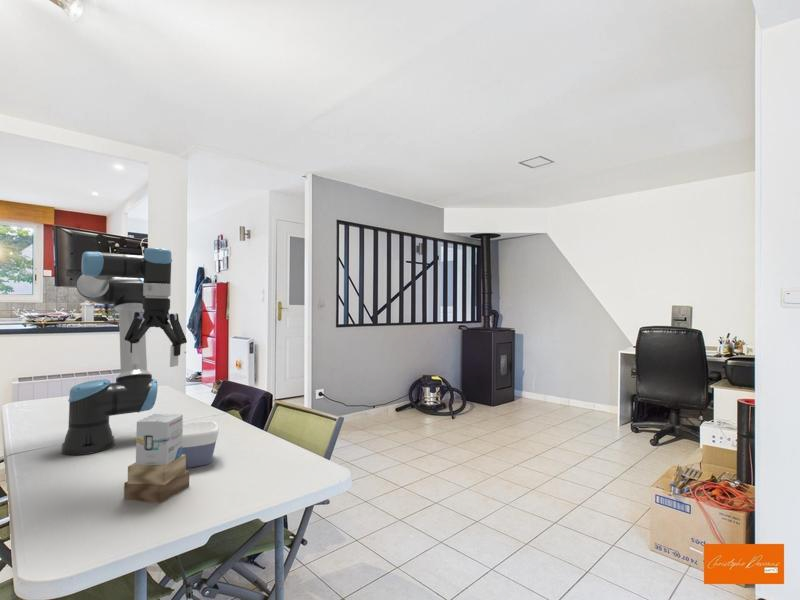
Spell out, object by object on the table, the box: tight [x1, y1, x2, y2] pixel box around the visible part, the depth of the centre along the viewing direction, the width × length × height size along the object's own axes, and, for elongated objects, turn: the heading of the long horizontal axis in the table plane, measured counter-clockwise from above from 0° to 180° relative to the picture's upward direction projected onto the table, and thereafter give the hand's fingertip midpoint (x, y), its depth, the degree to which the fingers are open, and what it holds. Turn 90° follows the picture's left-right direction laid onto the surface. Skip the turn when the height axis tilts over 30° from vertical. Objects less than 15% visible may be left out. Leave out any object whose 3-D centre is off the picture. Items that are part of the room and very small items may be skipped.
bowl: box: [182, 420, 220, 469], centre depth 139 cm, size 15×15×11 cm
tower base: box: [123, 470, 191, 504], centre depth 116 cm, size 11×11×4 cm
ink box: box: [135, 413, 184, 465], centre depth 117 cm, size 8×8×12 cm
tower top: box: [127, 454, 187, 485], centre depth 116 cm, size 10×10×4 cm
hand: (154, 364), depth 134 cm, fingers open, 13 cm apart
